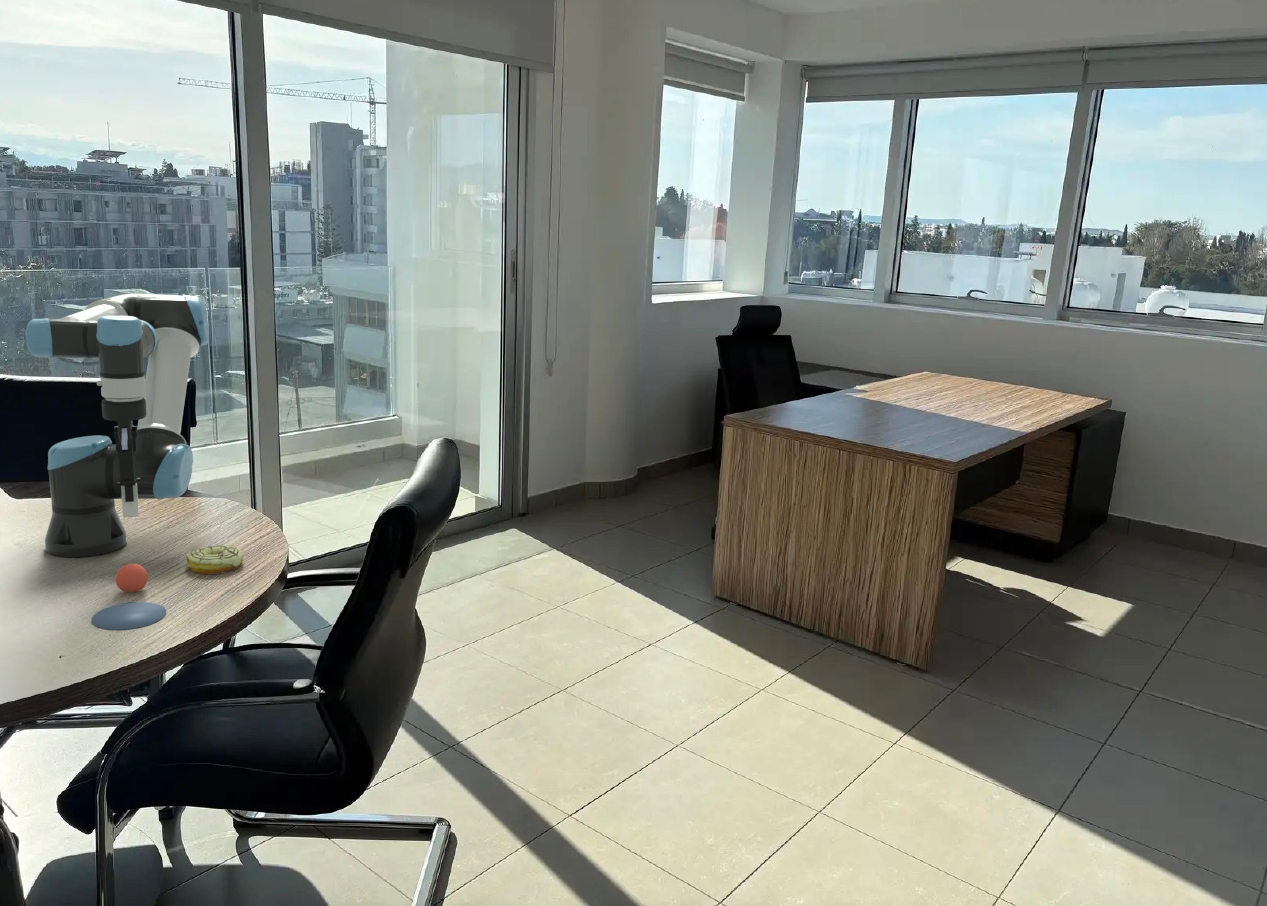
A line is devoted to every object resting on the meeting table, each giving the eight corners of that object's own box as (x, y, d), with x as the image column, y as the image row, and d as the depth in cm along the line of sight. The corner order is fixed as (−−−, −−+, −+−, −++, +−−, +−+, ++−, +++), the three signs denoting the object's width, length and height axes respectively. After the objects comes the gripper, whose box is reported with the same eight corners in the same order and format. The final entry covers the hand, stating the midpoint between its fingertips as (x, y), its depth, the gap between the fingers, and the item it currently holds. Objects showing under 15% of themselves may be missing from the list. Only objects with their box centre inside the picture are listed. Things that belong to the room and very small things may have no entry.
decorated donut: (249, 571, 200) (248, 554, 199) (193, 580, 194) (192, 562, 193) (235, 555, 208) (235, 539, 207) (182, 563, 202) (181, 546, 201)
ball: (113, 589, 186) (111, 562, 185) (144, 584, 189) (142, 557, 188) (120, 599, 182) (118, 571, 181) (151, 593, 185) (150, 566, 184)
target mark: (85, 611, 176) (85, 610, 176) (156, 598, 183) (156, 597, 183) (99, 635, 167) (99, 634, 167) (174, 620, 174) (174, 619, 174)
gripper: (103, 392, 190) (111, 507, 195) (98, 404, 178) (106, 527, 184) (146, 391, 193) (153, 505, 198) (144, 404, 181) (151, 524, 187)
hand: (130, 515), depth 191 cm, fingers closed
